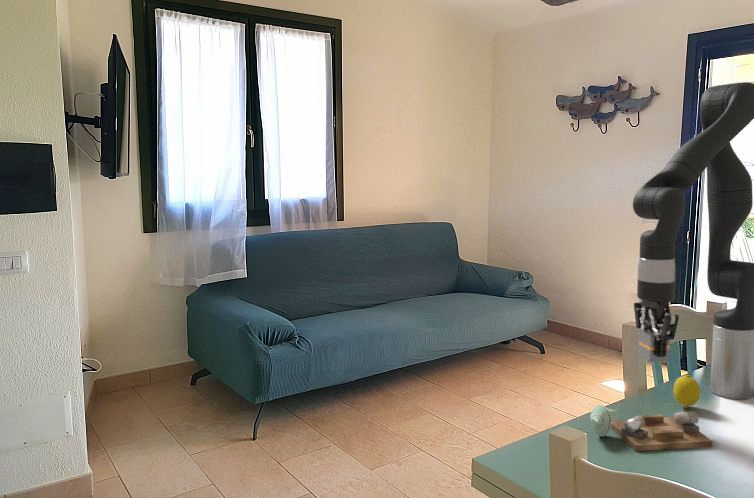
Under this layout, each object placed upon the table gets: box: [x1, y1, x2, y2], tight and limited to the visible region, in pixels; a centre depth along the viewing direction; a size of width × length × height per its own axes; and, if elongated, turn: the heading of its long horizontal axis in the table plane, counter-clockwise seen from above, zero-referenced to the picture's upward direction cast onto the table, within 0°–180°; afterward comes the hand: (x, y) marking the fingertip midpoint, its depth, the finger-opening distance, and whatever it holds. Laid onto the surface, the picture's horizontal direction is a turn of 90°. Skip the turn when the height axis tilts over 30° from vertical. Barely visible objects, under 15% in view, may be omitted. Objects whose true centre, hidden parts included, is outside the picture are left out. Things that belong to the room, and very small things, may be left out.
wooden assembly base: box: [610, 411, 713, 452], centre depth 125 cm, size 16×12×5 cm
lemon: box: [673, 374, 701, 409], centre depth 138 cm, size 6×6×8 cm
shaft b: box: [622, 415, 648, 440], centre depth 123 cm, size 4×4×4 cm
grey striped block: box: [638, 329, 671, 363], centre depth 131 cm, size 5×5×6 cm
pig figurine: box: [589, 404, 617, 438], centre depth 125 cm, size 8×4×7 cm, turn 131°
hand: (653, 352), depth 132 cm, fingers closed on grey striped block, 4 cm apart
